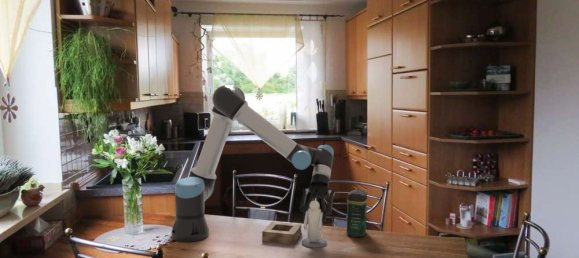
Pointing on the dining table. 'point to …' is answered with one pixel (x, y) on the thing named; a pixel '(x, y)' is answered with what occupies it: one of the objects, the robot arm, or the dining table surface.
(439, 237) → the dining table surface
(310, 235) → the pepper mill
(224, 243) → the dining table surface
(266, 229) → the walnut holder
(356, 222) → the coffee jar
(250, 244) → the dining table surface
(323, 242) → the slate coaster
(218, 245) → the dining table surface
